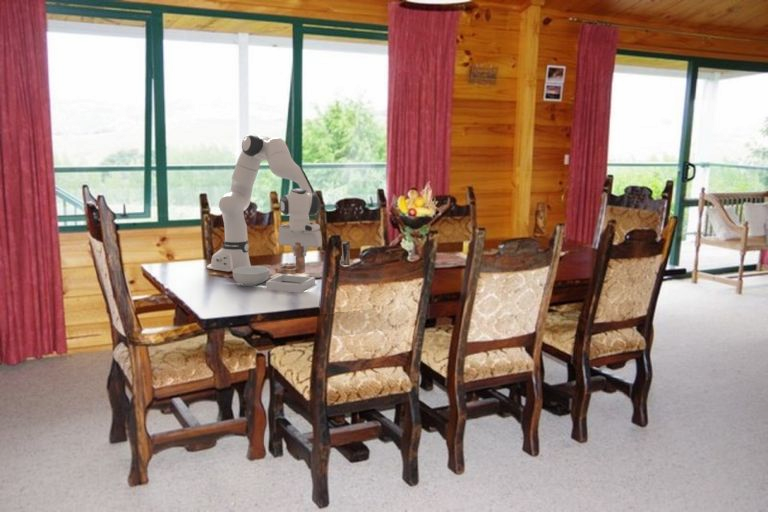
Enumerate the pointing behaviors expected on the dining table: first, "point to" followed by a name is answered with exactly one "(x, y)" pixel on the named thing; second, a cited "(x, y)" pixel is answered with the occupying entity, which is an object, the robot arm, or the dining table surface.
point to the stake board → (289, 274)
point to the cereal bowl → (250, 275)
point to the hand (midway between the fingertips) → (300, 256)
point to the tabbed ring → (299, 263)
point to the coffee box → (345, 253)
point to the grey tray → (290, 287)
